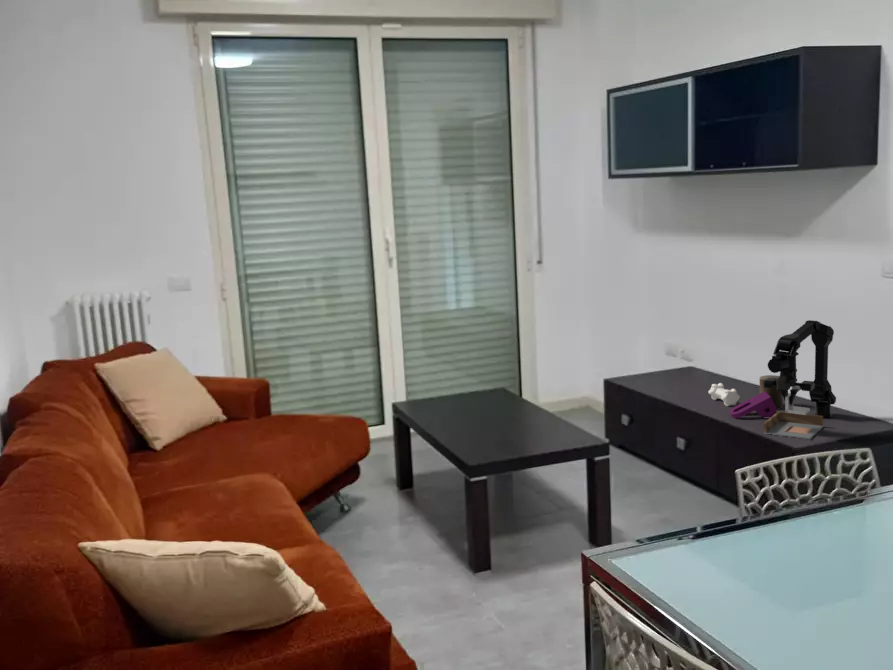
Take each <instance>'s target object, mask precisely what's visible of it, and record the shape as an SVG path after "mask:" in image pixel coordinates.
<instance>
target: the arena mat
mask: <svg viewBox="0 0 893 670" xmlns="http://www.w3.org/2000/svg"><path fill="white" fill-rule="evenodd" d="M823 428H824V425H823V426H818V425H809V424H800V423H791V422H783V421H780V422H779V423H777V424H776V425H775V426H774V427H773V428H771V429H770V430H769V431H768V432H767V433H765V432H764V431H763V434H764V435H766V434H772V435H771V436H774V435H779V436H778V437H782V436H788V437H787V438H790V437H797V438H796V439H798V438H804V439H803V440H806V439H810V440H812V439H813V438H814V437H815V435H817V434H818V433H819V432H820V430H821V429H823ZM818 431H819V432H818ZM821 431H822V430H821ZM817 432H818V433H817Z"/></svg>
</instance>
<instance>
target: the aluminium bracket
mask: <svg viewBox="0 0 893 670" xmlns="http://www.w3.org/2000/svg"><path fill="white" fill-rule="evenodd" d="M790 396H791V393H790V392H789V393H788V395H787V396H786V397H785V400H784V402H785V407H784V409H785V411H784V412H786V413H794V414H801V415H806V414H809V412H811V408H810V407H805V406H797V405H796V406H795V405H794V402H793V403H792V405H790Z"/></svg>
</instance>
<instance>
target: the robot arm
mask: <svg viewBox="0 0 893 670" xmlns="http://www.w3.org/2000/svg"><path fill="white" fill-rule="evenodd" d="M834 334H835V330H834V329H833V328H832V326H830V325H827V324H824V323H822V322H821V321H818V320H810V319H809V320H805V323H804V324H803V325H801V326H800V327H799V328H798V329H796V330H795V331H793V332H792V333H790V334H789V333H788V334H785V335H783V336H781V337H779V339H778V340H777V342H776V345H775V349H774V351H773V355H772V356H771V359H770V360H769V361H768V362H767V368H768V370H769V371H770V372H771V373H774V374H776V373H779V375H778V376H779V378H778V380H777V378H768V379H766V380H765V381H764V387H767V388H771V387H772V386H773V385H777V390H779V391H780V392H781V394H782V396H783V400H784V401H785V397H786V396H787V395H788V394H790V393H791V396H790V405H792V403H793V404H794V400H795V398H796V395H797V393H798V392H799V391H803V392H808V394H809V398H810V401H811V403H815V412H816V413H815V414H814V415H818V416H823V419H831V418H832V417H833V416H834V413H831V407H832V406H831V405H835V403H836V402H837V396H836V395H835V394H834V393H833V391H832V385H831V383H830V381H829V379H828V374H829V373H828V370H829V369H828V366H829V364H828V363H829V359H828V358H829V346H830V345H831V343H832V342H833V339H834ZM808 337H810V338H811V341H812V343H813V344H814V346H815V347H814V348H815V350H814V351H815V352H814V353H815V355H814V360H815V362H814V380H803V381H802V382H798V378H797V372H798V369H797V356H799V352H797V351H798V350H799V349H800V347H801V343H802V342H804V341H805V340H806V339H807V338H808Z"/></svg>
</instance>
